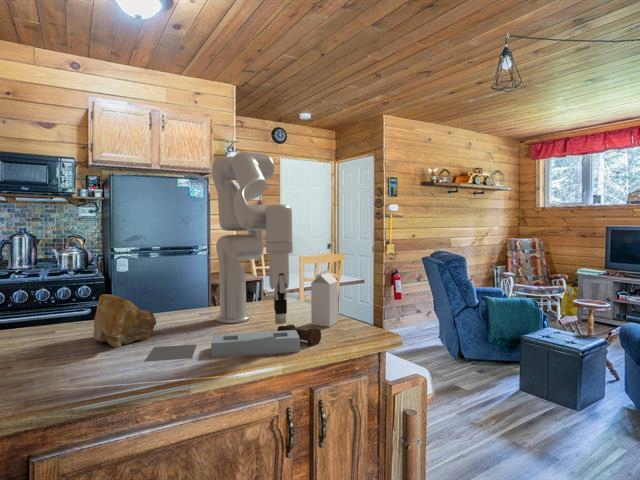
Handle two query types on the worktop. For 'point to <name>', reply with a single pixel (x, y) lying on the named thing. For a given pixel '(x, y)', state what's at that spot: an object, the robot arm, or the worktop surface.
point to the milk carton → (324, 300)
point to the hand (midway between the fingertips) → (280, 311)
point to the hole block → (255, 343)
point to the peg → (279, 315)
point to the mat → (171, 352)
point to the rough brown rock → (121, 321)
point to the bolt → (305, 333)
